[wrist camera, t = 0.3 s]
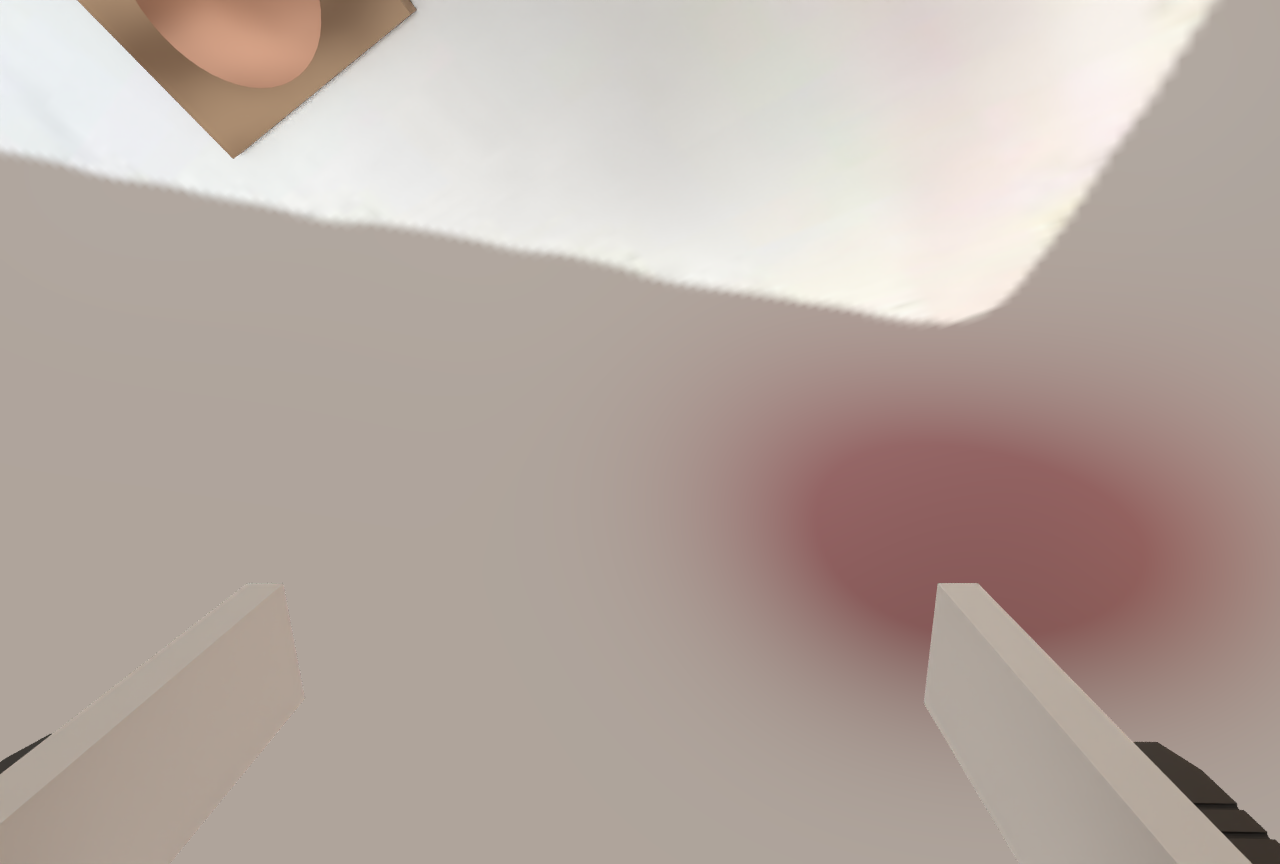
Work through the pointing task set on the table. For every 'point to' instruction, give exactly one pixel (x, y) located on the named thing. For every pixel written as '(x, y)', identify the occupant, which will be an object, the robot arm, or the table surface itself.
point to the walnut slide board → (245, 53)
